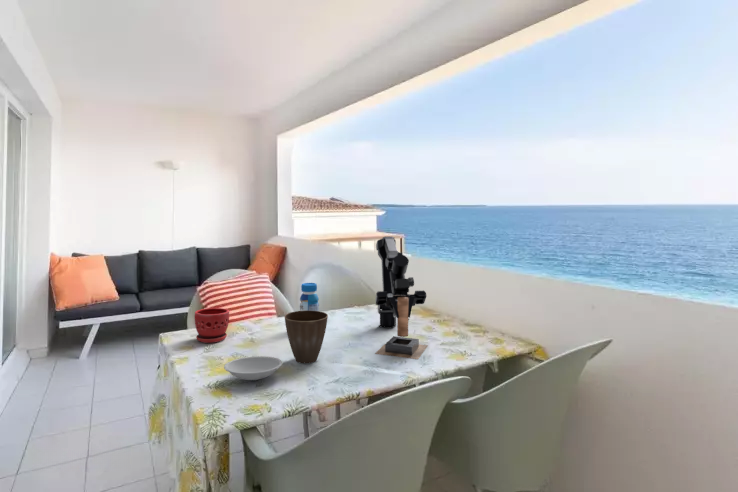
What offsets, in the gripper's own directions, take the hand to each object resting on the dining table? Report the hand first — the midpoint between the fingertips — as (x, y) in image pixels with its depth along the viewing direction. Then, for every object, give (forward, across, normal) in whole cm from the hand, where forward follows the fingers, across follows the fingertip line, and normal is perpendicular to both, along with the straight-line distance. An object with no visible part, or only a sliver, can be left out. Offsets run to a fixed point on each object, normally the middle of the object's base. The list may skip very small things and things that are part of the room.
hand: (403, 317), depth 156 cm
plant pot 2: (+12, -35, +7) cm, 38 cm away
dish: (+23, -51, -4) cm, 56 cm away
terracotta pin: (+4, 0, +6) cm, 7 cm away
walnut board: (+9, 0, +10) cm, 13 cm away
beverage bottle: (-16, -35, +35) cm, 52 cm away
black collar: (+8, 0, +10) cm, 13 cm away
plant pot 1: (-8, -74, +27) cm, 79 cm away
